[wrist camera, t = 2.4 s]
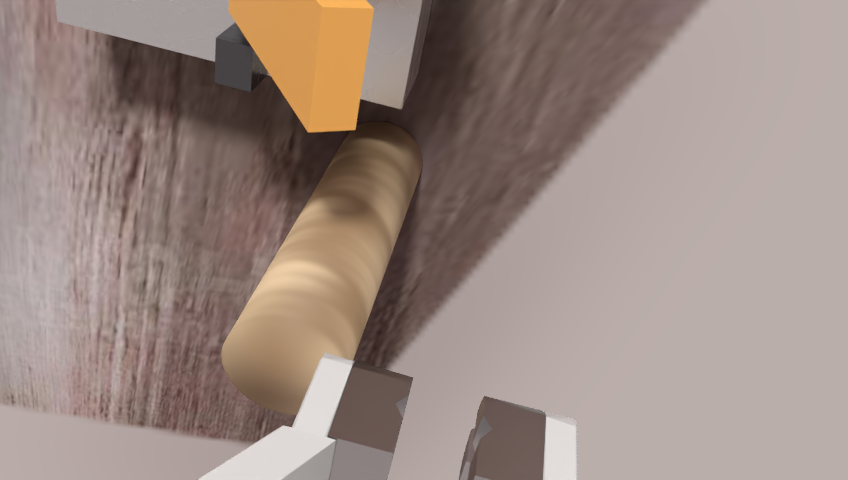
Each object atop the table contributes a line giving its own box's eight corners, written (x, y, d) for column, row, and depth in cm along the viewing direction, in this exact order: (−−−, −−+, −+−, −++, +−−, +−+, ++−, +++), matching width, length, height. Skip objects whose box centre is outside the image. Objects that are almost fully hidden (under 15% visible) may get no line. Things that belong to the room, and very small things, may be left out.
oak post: (336, 184, 40) (219, 396, 27) (346, 111, 37) (223, 306, 24) (414, 204, 40) (335, 427, 26) (429, 133, 37) (351, 341, 24)
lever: (223, 8, 30) (307, 138, 23) (227, -105, 28) (323, -1, 20) (261, 9, 31) (354, 135, 24) (268, -101, 28) (375, 1, 21)
